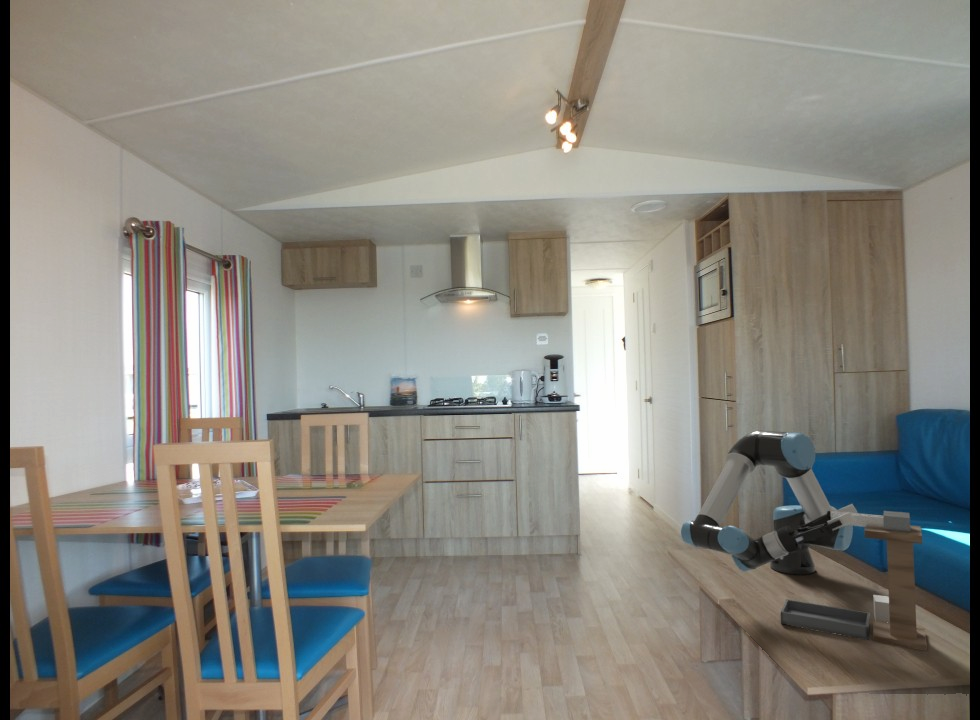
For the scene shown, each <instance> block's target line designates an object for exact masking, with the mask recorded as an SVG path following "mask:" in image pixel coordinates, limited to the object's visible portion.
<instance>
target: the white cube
mask: <svg viewBox="0 0 980 720" xmlns="http://www.w3.org/2000/svg"><path fill="white" fill-rule="evenodd" d="M872 596H873V597H872V598H873V616H874V619H875V620H876V621H881V622H888V623H890V613H889V595H888V596H886V595H879V594H873V595H872Z"/></svg>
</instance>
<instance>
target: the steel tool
mask: <svg viewBox="0 0 980 720" xmlns="http://www.w3.org/2000/svg"><path fill="white" fill-rule="evenodd" d="M846 513H848V512H837V511H831V513H830V515H831V520H832V519H834V518H837V517H839V516H841V515H844V514H846ZM851 514H852V516H853V517H854V519H855V522H853V523H851V524H848V525H851V526H854V527H861V528H862V527H863V528H865V527H872V528H882V529H884V530H886V531H896V532H906V533H910V525H911V517H910V512H903V511H891V510H883V515H880V514H870V513H869V514H868V513H859V512H858V513H851Z"/></svg>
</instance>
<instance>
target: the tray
mask: <svg viewBox="0 0 980 720" xmlns="http://www.w3.org/2000/svg"><path fill="white" fill-rule="evenodd" d="M780 624H781V625H783V624H787V625H786V626H789V625H791V626H790V627H794V626H796V628H800V627H803V628H802V629H805V628H807V630H810V629H813V630H812V631H816V630H818V631H817V632H821V631H823V632H822V633H827V632H829V633H828V634H832V633H836V634H835V635H837V634H841V635H840V636H843V635H845V637H848V636H851V637H850V638H854V637H855V639H859V638H860V640H865V641H869V640H870V633H871V632H870V630H871V615H870V612H868V611H861V610H855V609H849V608H843V607H836V606H830V605H823V604H819V603H813V602H806V601H800V600H795V599H794V600H793V599H789V598H787V599H785V602H784V604H783V606H782V608H781V611H780Z"/></svg>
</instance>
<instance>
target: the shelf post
mask: <svg viewBox="0 0 980 720" xmlns="http://www.w3.org/2000/svg"><path fill="white" fill-rule="evenodd" d="M864 538H865V539H875V540H881V541H882V540H884V541H886V552H887V553H886V554H887V555H886V558H887V560H886V561H887V579H888V580H887V582H888V585H887V586H888V597H889V613H890V623H887V622H881V621H875V620H873V628H872V629H873V630H872V641H873V642H875V643H881V644H886V645H891V646H898V647H903V648H908V649H914V650H919V651H925V652H927V651H928V649H927V639H926V631H925V628H922V627H921V628H920V627H917V608H916V586H915V585H916V582H915V581H916V579H915V559H914V558H915V556H914V544H919V545H923V534H922V529H921V525H920V526H919V525H911V524H910V533H906V532H896V531H886V530H884V529H882V528H872V527H864Z"/></svg>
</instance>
